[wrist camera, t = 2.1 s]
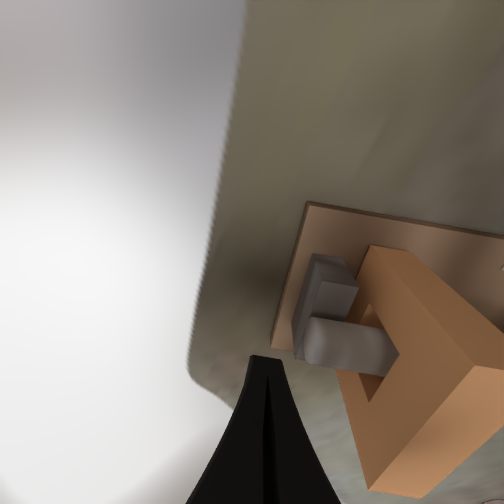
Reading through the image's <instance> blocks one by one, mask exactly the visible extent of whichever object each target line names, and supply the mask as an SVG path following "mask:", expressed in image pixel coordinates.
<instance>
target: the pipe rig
mask: <svg viewBox="0 0 504 504" xmlns="http://www.w3.org/2000/svg"><path fill="white" fill-rule="evenodd" d="M370 245H374V246H380V247H386V248H391V249H397V250H403V251H408V252H411V253H412V254H413V255H414V256H416V257H417V258H418V259H419V260H420V261H421V262H422V263H424V264H425V265H426V266H427V267H428V268H429V269H430V270H432V271H433V272H434V273H435V274H436V275H437V276H438V277H440V278H441V279H442V280H443V281H444V282H445V283H446V284H448V285H449V286H450V287H451V288H452V289H453V290H454V291H456V292H457V293H458V294H459V295H460V296H461V297H462V298H464V299H465V300H466V301H467V302H468V303H469V304H470V305H472V306H473V307H474V308H475V309H476V310H477V311H478V312H480V313H481V314H482V315H483V316H484V317H485V318H486V319H488V320H489V321H490V322H491V323H492V324H493V325H494V326H496V327H497V328H498V329H499V330H500V331H501V332H503V333H504V236H503V235H497V234H491V233H486V232H480V231H474V230H469V229H463V228H458V227H452V226H446V225H441V224H435V223H429V222H424V221H418V220H412V219H407V218H401V217H395V216H390V215H384V214H378V213H373V212H367V211H361V210H356V209H350V208H344V207H339V206H333V205H327V204H322V203H316V202H310V201H307V203H306V207H305V211H304V215H303V218H302V222H301V226H300V230H299V233H298V237H297V241H296V245H295V248H294V252H293V256H292V260H291V263H290V267H289V271H288V274H287V278H286V282H285V286H284V289H283V293H282V297H281V301H280V304H279V308H278V312H277V316H276V319H275V323H274V327H273V331H272V334H271V338H270V348H275V349H281V350H287V351H292V352H294V356H295V359H299V360H305V361H306V362H307V363H308V364H312V365H318V366H324V367H330V368H336V369H342V370H348V371H354V372H360V373H365V374H371V375H377V376H383V377H386V375H387V374H388V372H389V370H390V369H391V367H392V366H393V364H394V363H395V361H396V359H397V358H398V356H399V355H400V354H399V352H398V350H397V349H396V347H395V345H394V343H393V342H392V340H391V338H390V336H389V335H388V333H387V331H386V330H385V329H381V328H375V327H369V326H363V325H357V324H352V323H346V322H344V321H345V319H346V317H347V314H348V312H349V310H350V308H351V305H352V303H353V301H354V299H355V296H356V294H357V292H358V289H359V286H358V284H357V283H356V281H355V280H356V278H357V275H358V273H359V271H360V268H361V266H362V264H363V261H364V259H365V256H366V254H367V252H368V249H369V247H370Z"/></svg>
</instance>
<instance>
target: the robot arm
mask: <svg viewBox="0 0 504 504" xmlns="http://www.w3.org/2000/svg"><path fill="white" fill-rule="evenodd" d="M186 504H341V502H340V500H339V499H338V497H337V495H336V493H335V491H334V489H333V487H332V486H331V484H330V482H329V480H328V478H327V476H326V474H325V472H324V470H323V468H322V466H321V464H320V462H319V460H318V458H317V455H316V453H315V451H314V449H313V447H312V444H311V442H310V440H309V438H308V435H307V433H306V431H305V428H304V426H303V423H302V421H301V418H300V416H299V413H298V410H297V408H296V405H295V402H294V400H293V397H292V394H291V391H290V388H289V385H288V381H287V378H286V374H285V371H284V367H283V363H282V361H281V359H275V358H269V357H263V356H257V355H252V356H250V360H249V364H248V368H247V373H246V377H245V382H244V386H243V389H242V391H241V394H240V397H239V399H238V402H237V405H236V407H235V409H234V412H233V414H232V416H231V419H230V421H229V423H228V426H227V428H226V430H225V432H224V434H223V436H222V438H221V440H220V442H219V444H218V446H217V448H216V450H215V452H214V454H213V456H212V458H211V460H210V462H209V463H208V465H207V467H206V469H205V471H204V472H203V474H202V476H201V478H200V480H199V481H198V483H197V485H196V487H195V488H194V490H193V492H192V494H191V495H190V497H189V498H188V500H187V502H186Z"/></svg>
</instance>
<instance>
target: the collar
mask: <svg viewBox="0 0 504 504" xmlns="http://www.w3.org/2000/svg"><path fill="white" fill-rule="evenodd" d="M355 281H356V283H357V284H358V286H359V289H358V292H357V294H356V296H355V299H354V301H353V303H352V305H351V308H350V310H349V312H348V314H347V317H346V319H345V321H344V322H346V323H352V324H357V325H363V326H369V327H375V328H381V329H385V330H386V331H387V333H388V335H389V336H390V338H391V340H392V342H393V343H394V345H395V347H396V349H397V350H398V352H399V354H400V355H399V356H398V358H397V359H396V361H395V363H394V364H393V366H392V367H391V369H390V370H389V372H388V374H387V375H386V377H383V376H377V375H371V374H365V373H360V372H354V371H348V370H342V369H336V368H335V369H336V373H337V377H338V380H339V384H340V388H341V392H342V395H343V399H344V403H345V406H346V410H347V414H348V417H349V421H350V425H351V429H352V432H353V436H354V440H355V443H356V447H357V451H358V454H359V458H360V462H361V466H362V469H363V473H364V477H365V480H366V484H367V488H368V490H371V491H377V492H383V493H389V494H395V495H401V496H407V497H414V498H420V499H422V498H423V497H424V496H425V495H426V494H427V493H428V492H429V491H431V490H432V489H433V488H434V487H435V486H436V485H437V484H438V483H440V482H441V481H442V480H443V479H444V478H445V477H446V476H447V475H449V474H450V473H451V472H452V471H453V470H454V469H455V468H457V467H458V466H459V465H460V464H461V463H462V462H463V461H464V460H466V459H467V458H468V457H469V456H470V455H471V454H472V453H473V452H475V451H476V450H477V449H478V448H479V447H480V446H481V445H482V444H484V443H485V442H486V441H487V440H488V439H489V438H490V437H491V436H493V435H494V434H495V433H496V432H497V431H498V430H499V429H500V428H502V427H503V426H504V333H503V332H501V331H500V330H499V329H498V328H497V327H496V326H494V325H493V324H492V323H491V322H490V321H489V320H488V319H486V318H485V317H484V316H483V315H482V314H481V313H480V312H478V311H477V310H476V309H475V308H474V307H473V306H472V305H470V304H469V303H468V302H467V301H466V300H465V299H464V298H462V297H461V296H460V295H459V294H458V293H457V292H456V291H454V290H453V289H452V288H451V287H450V286H449V285H448V284H446V283H445V282H444V281H443V280H442V279H441V278H440V277H438V276H437V275H436V274H435V273H434V272H433V271H432V270H430V269H429V268H428V267H427V266H426V265H425V264H424V263H422V262H421V261H420V260H419V259H418V258H417V257H416V256H414V255H413V254H412V253H411V252H408V251H403V250H397V249H391V248H386V247H380V246H374V245H370V247H369V249H368V252H367V254H366V256H365V259H364V261H363V264H362V266H361V268H360V271H359V273H358V275H357V278H356V280H355Z"/></svg>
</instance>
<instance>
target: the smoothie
mask: <svg viewBox="0 0 504 504" xmlns="http://www.w3.org/2000/svg"><path fill="white" fill-rule="evenodd" d="M483 504H504V500H493V501H488V502H485V503H483Z"/></svg>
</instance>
